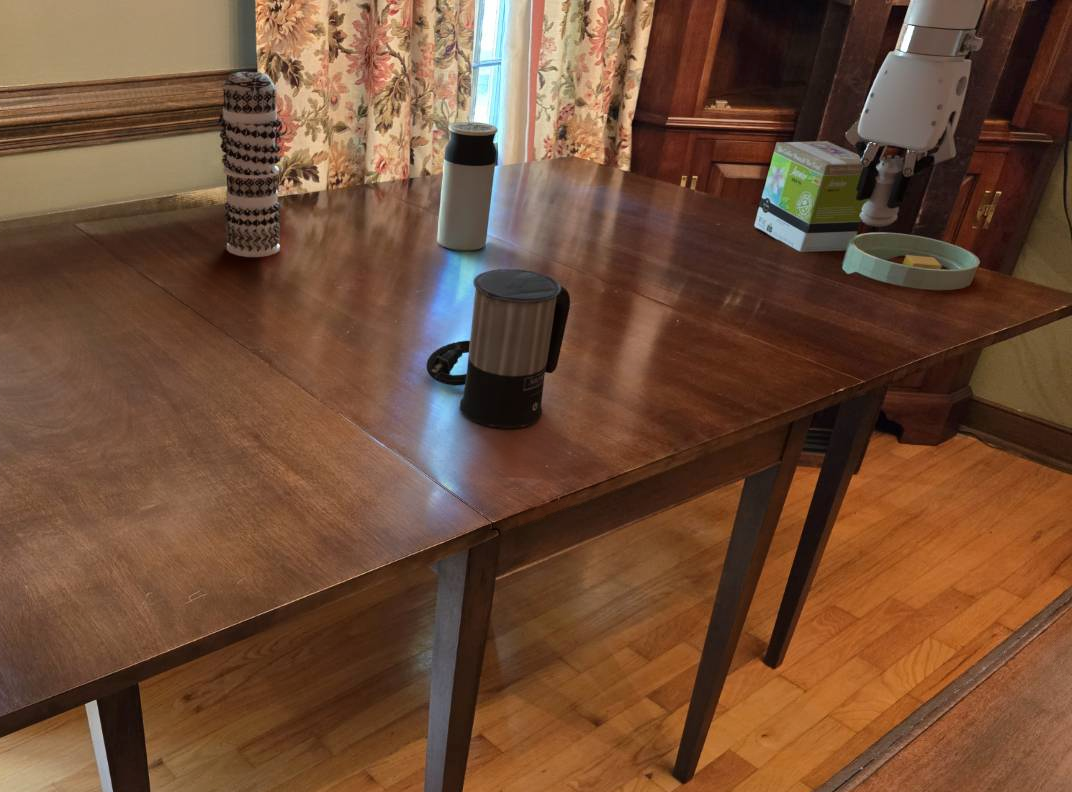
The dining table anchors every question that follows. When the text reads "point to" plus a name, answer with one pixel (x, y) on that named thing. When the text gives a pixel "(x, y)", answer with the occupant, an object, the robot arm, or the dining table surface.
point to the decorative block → (922, 262)
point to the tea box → (811, 196)
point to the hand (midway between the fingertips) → (879, 201)
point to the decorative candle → (251, 164)
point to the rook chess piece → (882, 194)
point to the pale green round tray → (876, 248)
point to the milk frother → (507, 347)
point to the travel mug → (467, 186)
